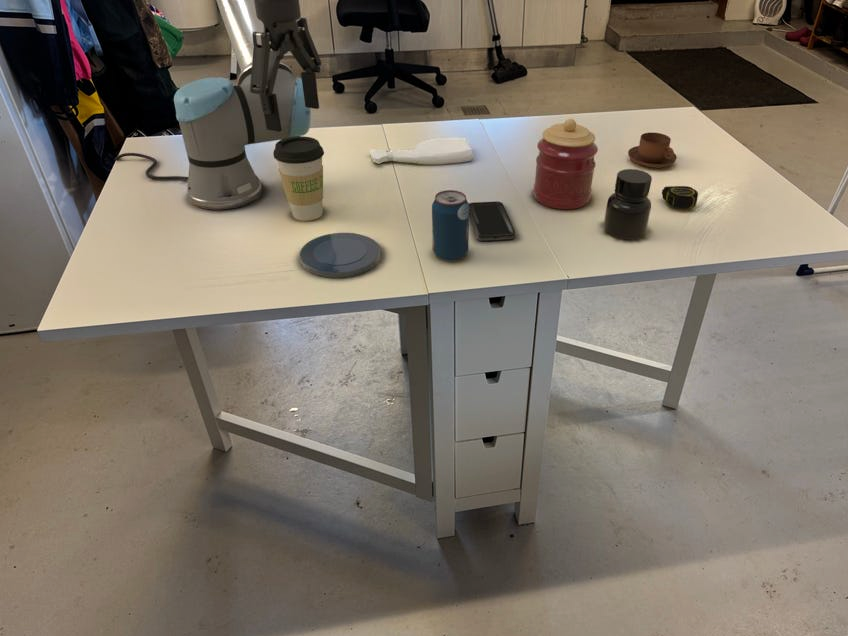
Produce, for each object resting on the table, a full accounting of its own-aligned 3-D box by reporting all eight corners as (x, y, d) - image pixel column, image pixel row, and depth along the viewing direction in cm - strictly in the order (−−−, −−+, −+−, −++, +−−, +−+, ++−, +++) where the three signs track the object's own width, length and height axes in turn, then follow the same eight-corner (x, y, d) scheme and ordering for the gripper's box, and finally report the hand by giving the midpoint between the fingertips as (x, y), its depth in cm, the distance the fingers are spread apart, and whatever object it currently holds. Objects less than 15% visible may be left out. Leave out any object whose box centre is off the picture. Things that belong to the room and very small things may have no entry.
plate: (285, 268, 122) (284, 262, 121) (326, 232, 133) (325, 226, 132) (357, 284, 119) (356, 278, 118) (393, 246, 130) (393, 240, 129)
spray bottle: (474, 163, 162) (374, 171, 158) (464, 146, 170) (369, 153, 166) (474, 151, 160) (373, 159, 156) (464, 135, 168) (368, 142, 164)
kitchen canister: (601, 198, 149) (614, 120, 138) (567, 216, 142) (577, 135, 131) (556, 180, 156) (564, 104, 145) (521, 197, 148) (527, 118, 137)
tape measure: (689, 198, 150) (693, 183, 148) (699, 212, 145) (703, 196, 143) (660, 199, 150) (663, 183, 147) (669, 212, 145) (672, 197, 142)
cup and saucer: (681, 159, 168) (687, 136, 164) (665, 175, 160) (670, 151, 156) (637, 149, 173) (641, 125, 169) (619, 163, 165) (623, 139, 161)
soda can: (475, 256, 127) (476, 199, 120) (445, 267, 124) (445, 208, 117) (455, 241, 132) (455, 185, 124) (425, 251, 128) (424, 194, 121)
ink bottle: (648, 223, 140) (659, 169, 133) (647, 243, 134) (659, 188, 126) (602, 218, 142) (610, 164, 134) (599, 237, 135) (608, 182, 127)
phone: (501, 201, 144) (516, 234, 132) (501, 205, 144) (515, 239, 133) (466, 202, 143) (477, 236, 131) (465, 207, 143) (477, 241, 132)
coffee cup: (320, 227, 135) (311, 156, 125) (275, 221, 136) (262, 150, 126) (338, 206, 142) (330, 137, 133) (295, 201, 143) (284, 132, 134)
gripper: (251, 10, 103) (274, 143, 116) (331, -17, 121) (342, 101, 135) (211, 5, 105) (238, 137, 118) (295, -20, 123) (310, 96, 136)
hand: (294, 118), depth 126 cm, fingers open, 13 cm apart
